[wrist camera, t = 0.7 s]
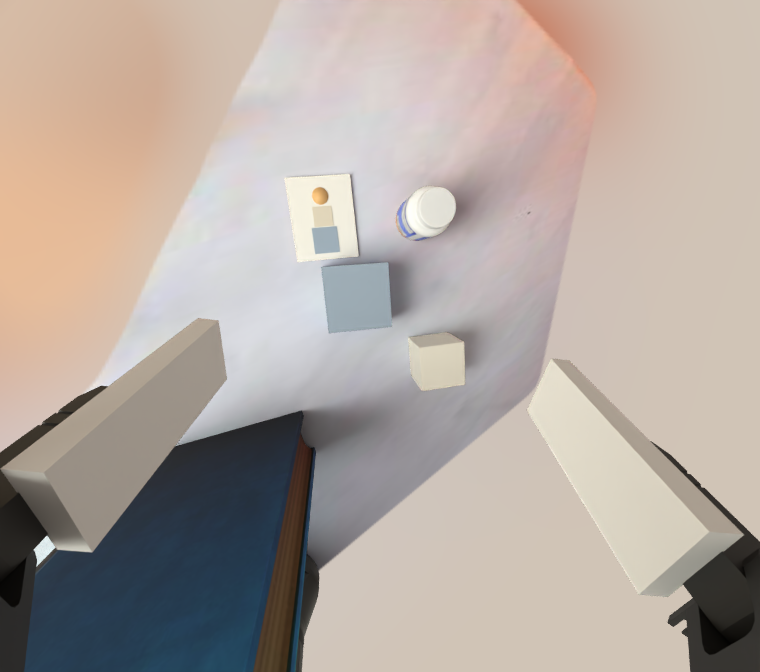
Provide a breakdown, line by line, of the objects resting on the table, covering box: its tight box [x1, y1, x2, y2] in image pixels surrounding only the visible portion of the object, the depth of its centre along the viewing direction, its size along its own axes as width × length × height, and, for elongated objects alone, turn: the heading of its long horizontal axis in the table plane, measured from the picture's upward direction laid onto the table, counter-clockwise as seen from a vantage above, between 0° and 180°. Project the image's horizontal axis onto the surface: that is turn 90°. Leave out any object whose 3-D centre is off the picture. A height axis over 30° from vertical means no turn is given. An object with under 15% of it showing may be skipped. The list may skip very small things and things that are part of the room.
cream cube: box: [408, 332, 465, 391], centre depth 42 cm, size 6×6×6 cm
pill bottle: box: [396, 186, 456, 241], centre depth 35 cm, size 5×5×10 cm
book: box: [24, 411, 316, 672], centre depth 29 cm, size 24×9×30 cm, turn 103°
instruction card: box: [284, 174, 359, 262], centre depth 38 cm, size 10×8×1 cm
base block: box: [321, 262, 392, 333], centre depth 39 cm, size 8×8×5 cm
